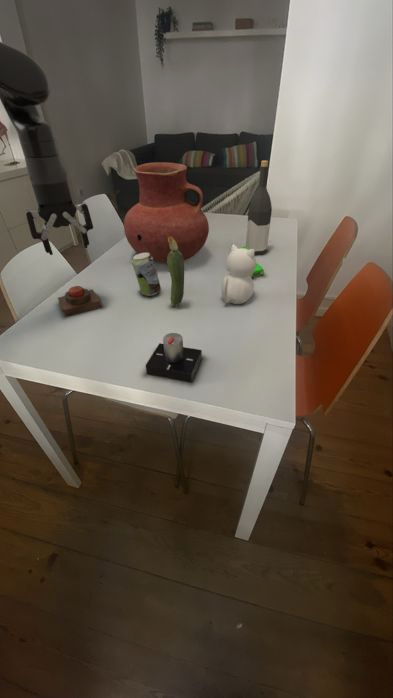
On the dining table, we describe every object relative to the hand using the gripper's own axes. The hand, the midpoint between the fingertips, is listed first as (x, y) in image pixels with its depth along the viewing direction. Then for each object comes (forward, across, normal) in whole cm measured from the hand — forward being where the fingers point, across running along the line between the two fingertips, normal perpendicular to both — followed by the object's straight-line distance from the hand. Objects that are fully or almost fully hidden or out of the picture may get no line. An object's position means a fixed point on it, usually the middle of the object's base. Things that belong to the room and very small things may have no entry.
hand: (68, 250), depth 80 cm
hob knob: (+14, -12, +36) cm, 41 cm away
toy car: (+17, -53, +4) cm, 56 cm away
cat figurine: (+17, -39, +18) cm, 47 cm away
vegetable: (+17, -23, +14) cm, 32 cm away
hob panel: (+16, -12, +36) cm, 41 cm away
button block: (+16, +1, -1) cm, 17 cm away
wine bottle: (+17, -67, -9) cm, 70 cm away
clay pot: (+17, -36, -20) cm, 45 cm away
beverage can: (+17, -19, +2) cm, 26 cm away
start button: (+13, +1, -1) cm, 13 cm away
